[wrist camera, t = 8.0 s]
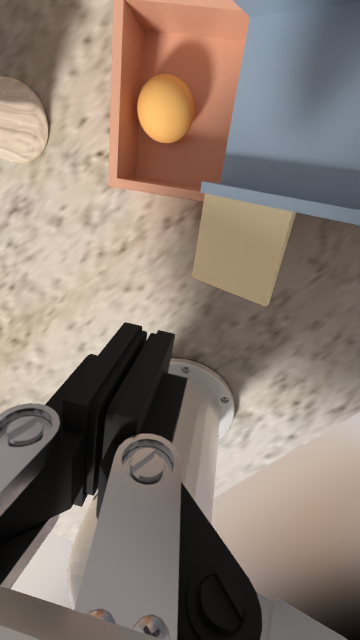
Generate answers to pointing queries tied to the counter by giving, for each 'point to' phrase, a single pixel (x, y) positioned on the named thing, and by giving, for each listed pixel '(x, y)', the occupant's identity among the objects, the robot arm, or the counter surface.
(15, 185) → the counter surface
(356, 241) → the counter surface
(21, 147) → the beer glass
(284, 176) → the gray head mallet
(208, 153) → the shallow terracotta crate
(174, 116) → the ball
